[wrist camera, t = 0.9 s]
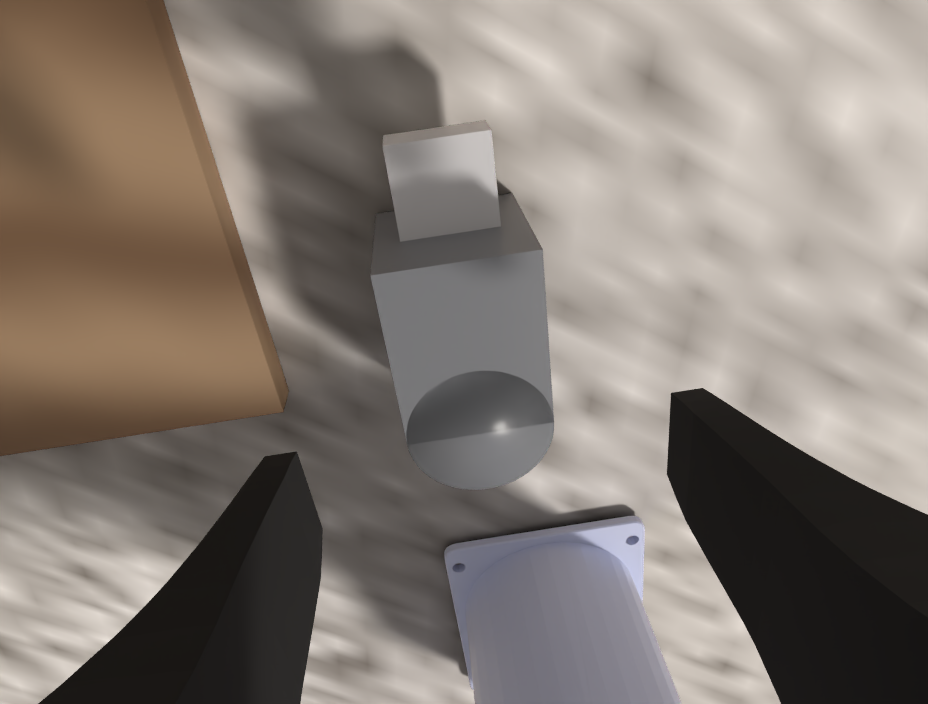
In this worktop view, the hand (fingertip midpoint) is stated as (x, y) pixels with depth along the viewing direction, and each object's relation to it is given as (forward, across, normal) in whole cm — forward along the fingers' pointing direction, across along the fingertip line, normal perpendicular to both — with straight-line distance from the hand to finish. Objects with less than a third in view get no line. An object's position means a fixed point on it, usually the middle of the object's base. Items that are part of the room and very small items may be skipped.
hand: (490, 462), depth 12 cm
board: (+9, +12, -3) cm, 15 cm away
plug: (+9, 0, 0) cm, 9 cm away
